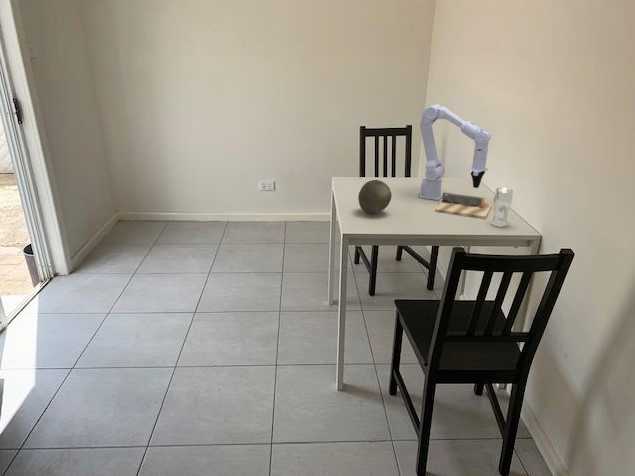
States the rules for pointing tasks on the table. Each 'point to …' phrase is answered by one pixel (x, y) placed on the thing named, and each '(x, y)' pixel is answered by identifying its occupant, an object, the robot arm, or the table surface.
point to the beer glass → (502, 206)
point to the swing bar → (463, 199)
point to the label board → (464, 209)
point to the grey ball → (374, 196)
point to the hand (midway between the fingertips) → (476, 187)
